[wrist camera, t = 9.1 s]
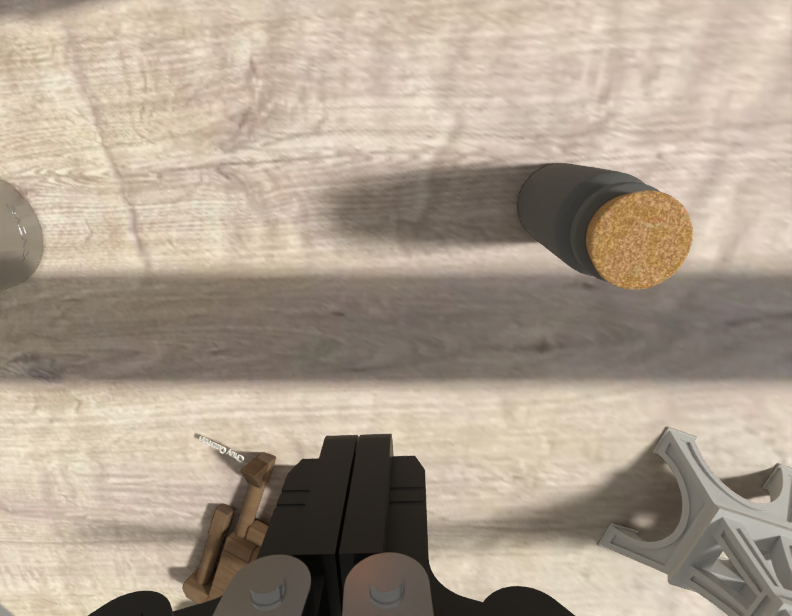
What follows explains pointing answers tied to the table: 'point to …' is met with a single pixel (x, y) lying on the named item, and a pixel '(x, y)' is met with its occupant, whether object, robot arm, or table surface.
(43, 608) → the table surface
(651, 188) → the bottle
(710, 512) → the eiffel tower
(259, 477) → the wooden figure
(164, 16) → the table surface
